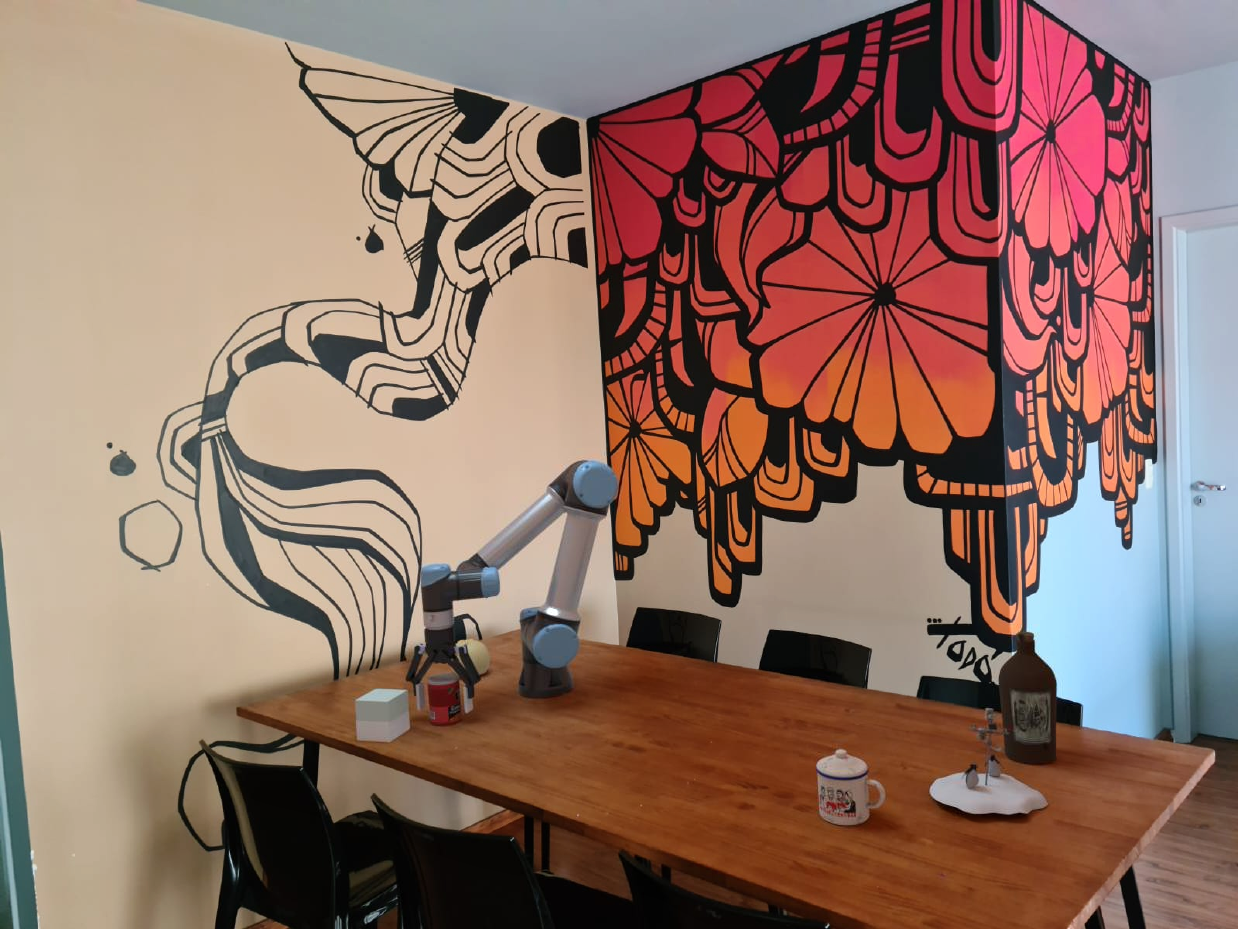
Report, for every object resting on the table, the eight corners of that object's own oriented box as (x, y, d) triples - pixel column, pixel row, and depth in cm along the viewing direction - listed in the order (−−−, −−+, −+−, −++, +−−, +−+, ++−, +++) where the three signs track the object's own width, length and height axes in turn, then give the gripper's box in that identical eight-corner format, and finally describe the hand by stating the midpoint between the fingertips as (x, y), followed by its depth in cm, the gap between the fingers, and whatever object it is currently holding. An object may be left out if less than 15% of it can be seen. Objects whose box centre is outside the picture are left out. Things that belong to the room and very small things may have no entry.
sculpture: (457, 669, 266) (454, 635, 266) (495, 668, 265) (492, 633, 264) (444, 681, 255) (441, 645, 255) (484, 680, 253) (481, 643, 253)
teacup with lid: (810, 820, 154) (806, 755, 154) (829, 800, 162) (826, 738, 161) (877, 835, 147) (874, 767, 147) (894, 813, 155) (891, 749, 154)
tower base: (410, 730, 216) (408, 710, 215) (389, 743, 207) (388, 722, 207) (378, 728, 218) (377, 708, 218) (357, 741, 210) (355, 721, 210)
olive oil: (998, 744, 182) (993, 626, 181) (1054, 747, 179) (1049, 627, 178) (1004, 764, 172) (999, 639, 171) (1064, 768, 169) (1059, 640, 168)
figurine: (984, 829, 145) (986, 731, 145) (907, 790, 162) (909, 703, 162) (1069, 812, 153) (1071, 719, 153) (988, 777, 170) (989, 694, 170)
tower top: (409, 709, 216) (407, 690, 215) (389, 722, 207) (387, 701, 207) (377, 708, 218) (376, 688, 218) (356, 720, 210) (354, 700, 210)
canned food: (455, 726, 215) (452, 682, 215) (425, 726, 217) (421, 682, 216) (466, 715, 223) (463, 673, 222) (437, 715, 224) (434, 673, 224)
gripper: (387, 629, 219) (394, 712, 220) (476, 630, 211) (482, 717, 212) (404, 622, 226) (409, 703, 227) (490, 623, 218) (496, 707, 219)
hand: (445, 710), depth 220 cm, fingers open, 13 cm apart
